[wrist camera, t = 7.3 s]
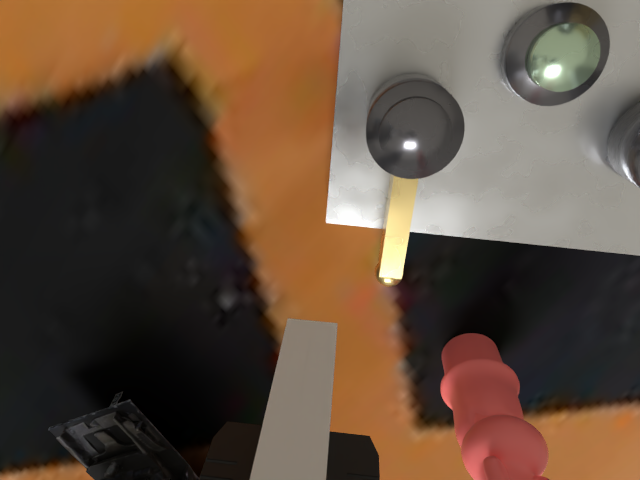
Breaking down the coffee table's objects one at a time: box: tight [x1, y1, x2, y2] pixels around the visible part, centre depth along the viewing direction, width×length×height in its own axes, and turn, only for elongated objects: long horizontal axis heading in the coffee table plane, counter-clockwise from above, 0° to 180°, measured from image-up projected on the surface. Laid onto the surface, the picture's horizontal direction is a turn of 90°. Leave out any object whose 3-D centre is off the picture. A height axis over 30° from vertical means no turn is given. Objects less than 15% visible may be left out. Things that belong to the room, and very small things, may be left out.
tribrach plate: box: [326, 0, 640, 255], centre depth 22 cm, size 20×20×4 cm
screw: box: [366, 73, 465, 287], centre depth 23 cm, size 11×4×4 cm, turn 176°
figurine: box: [441, 333, 549, 480], centre depth 26 cm, size 5×5×15 cm
